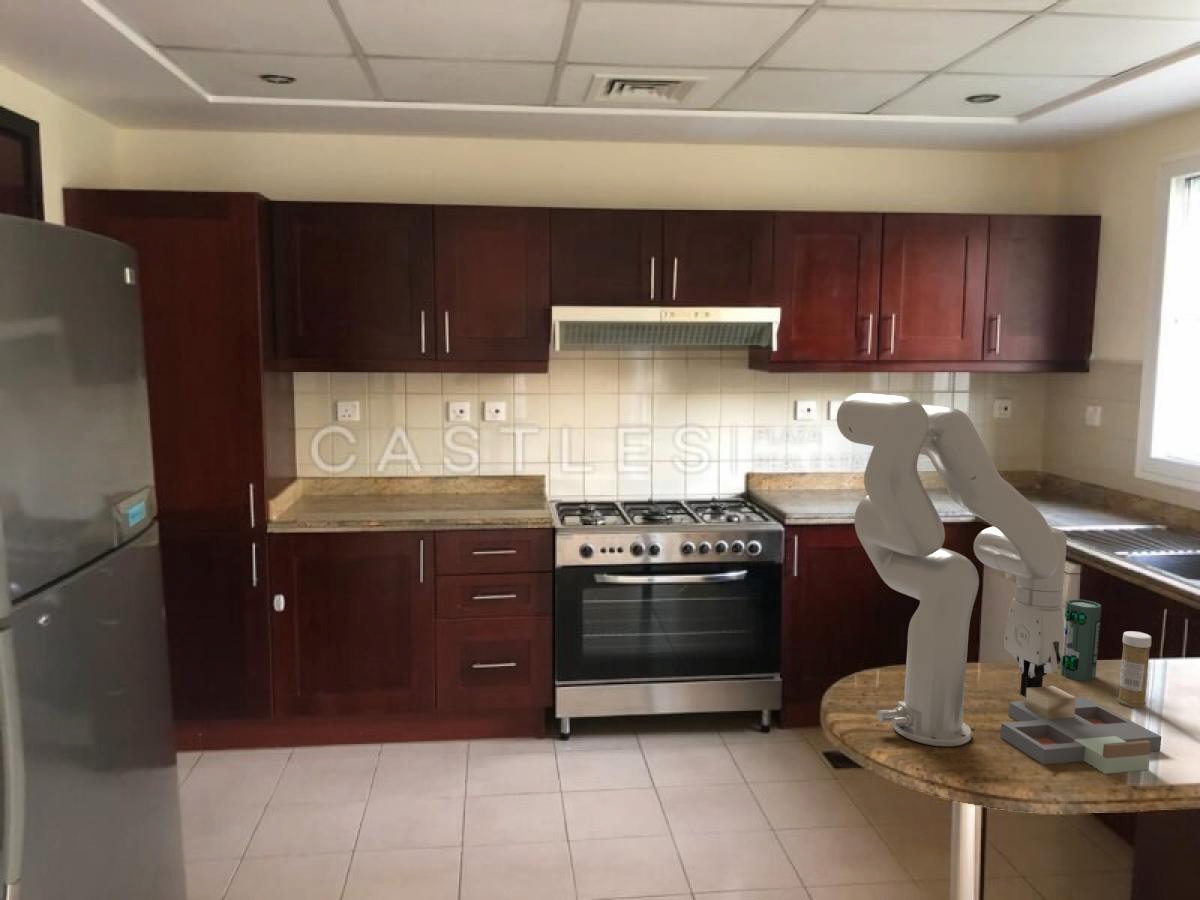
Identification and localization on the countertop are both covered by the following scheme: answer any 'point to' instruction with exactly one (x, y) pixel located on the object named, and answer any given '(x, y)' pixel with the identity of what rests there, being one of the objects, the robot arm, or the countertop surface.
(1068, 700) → the birch block
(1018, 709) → the board
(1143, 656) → the sprinkles bottle
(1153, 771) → the countertop surface
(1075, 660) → the can
